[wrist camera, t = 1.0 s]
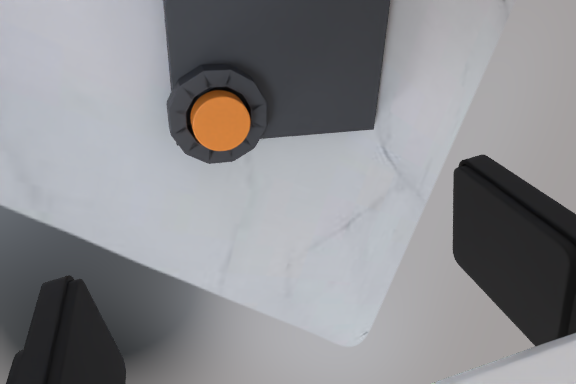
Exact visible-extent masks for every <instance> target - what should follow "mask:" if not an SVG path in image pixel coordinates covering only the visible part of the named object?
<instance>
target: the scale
mask: <svg viewBox="0 0 576 384" xmlns="http://www.w3.org/2000/svg"><path fill="white" fill-rule="evenodd" d="M163 3H164V14H165V26H166V37H167V48H168V59H169V71H170V82H171V95H170V97H169V99H168V101H167V111H168V121H169V129H170V133H171V136H172V137H173V138H174V140H175V141H176V143H177V145H179V146H180V147H181V149H182V150H183V151H184V153H185V154H187V155H189V156H192V157H194V158H196V159H199V160H201V161H204V162H206V163H209V164H210V163H221V162H232V161H235V160H236V159H238V158H239V157H241V156H243V155H244V154H246V153H247V152H249V151H250V150H252V149H253V148H255V146H256V144H257V143H258V141H259V139H262V138H274V137H287V136H299V135H311V134H323V133H335V132H347V131H359V130H372V129H374V123H375V115H376V107H377V99H378V92H379V84H380V76H381V68H382V61H383V53H384V45H385V37H386V29H387V22H388V14H389V6H390V0H163ZM214 90H225V91H229V92H231V93H233V94H235V95H236V96H238V97H239V98H240V99H241V101H242V102H243V104H244V105H245V107H246V109H247V110H248V112H249V115H250V121H251V123H250V130H249V133H248V135H247V137H246V138H245V140H244V141H243V142H242V143H241V144H240V145H238V146H237V147H235V148H233V149H230V150H227V151H214V150H211V149H208V148H206V147H204V146H203V145H202V144H201V143H200V142H199V141H198V140H197V138H196V137H195V135H194V132H193V129H192V125H191V120H190V115H191V110H192V107H193V105H194V103H195V102H196V101H197V99H199V98H200V97H201V96H202V95H204V94H205V93H207V92H210V91H214Z"/></svg>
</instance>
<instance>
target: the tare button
mask: <svg viewBox="0 0 576 384" xmlns="http://www.w3.org/2000/svg"><path fill="white" fill-rule="evenodd" d="M190 120H191V125H192V129H193V132H194V135H195V137H196V138H197V140H198V141H199V142H200V143H201V144H202V145H203V146H204V147H206V148H208V149H211V150H214V151H227V150H230V149H233V148H235V147H237V146H238V145H240V144H241V143H242V142H243V141H244V140H245V138H246V137H247V135H248V133H249V130H250V123H251V121H250V115H249V112H248V110H247V109H246V107H245V105H244V104H243V102H242V101H241V99H240V98H239V97H238V96H236V95H235V94H233V93H231V92H229V91H225V90H214V91H210V92H207V93H205V94H204V95H202V96H201V97H200V98H199V99H197V101H196V102H195V103H194V105H193V107H192V110H191V115H190Z"/></svg>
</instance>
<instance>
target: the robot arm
mask: <svg viewBox="0 0 576 384" xmlns="http://www.w3.org/2000/svg"><path fill="white" fill-rule="evenodd" d="M453 254H454V257H455V260H456V262H457V263H458V264H459V266H460V267H461V268H462V269H463V270H464V271H465V272H466V273H467V274H468V275H469V276H470V277H471V278H472V279H473V280H474V281H475V282H476V284H477V285H478V286H479V287H480V288H481V289H482V290H483V291H484V292H485V293H486V294H487V295H488V296H489V297H490V298H491V299H492V301H493V302H495V303H496V305H497V306H498V307H499V308H500V309H501V310H502V311H503V312H504V313H505V314H506V315H507V316H508V318H510V320H511V321H512V322H513V323H514V324H515V325H516V326H517V327H518V328H519V329H520V330H521V331H522V332H523V333H524V334H525V335H526V336H527V338H528V339H529V340H530V341H531V342H532V343H533V344H534V345H535V346H536V347H533V348H531V349H527V350H524V351H522V352H519V353H516V354H513V355H510V356H507V357H505V358H502V359H499V360H496V361H493V362H491V363H488V364H485V365H482V366H479V367H477V368H474V369H471V370H468V371H465V372H462V373H460V374H457V375H454V376H451V377H448V378H446V379H443V380H440V381H437V382H434V383H431V384H576V214H574V213H573V212H571V211H570V210H568V209H567V208H565V207H564V206H562V205H561V204H559V203H558V202H556V201H555V200H553V199H552V198H550V197H549V196H547V195H546V194H544V193H543V192H541V191H539V190H538V189H536V188H535V187H533V186H532V185H530V184H529V183H527V182H526V181H524V180H522V179H521V178H520V177H518V176H517V175H515V174H514V173H512V172H511V171H509V170H507V169H506V168H504V167H503V166H501V165H500V164H498V163H497V162H495V161H494V160H492V159H491V158H489V157H488V156H486V155H479V156H475V157H472V158H469V159H465V160H462V161H461V162H460V164H459V167H458V168H456V169H455V170H454V189H453ZM125 380H126V369H125V363H124V360H123V357H122V355H121V353H120V351H119V349H118V347H117V345H116V343H115V341H114V339H113V337H112V336H111V334H110V332H109V330H108V328H107V326H106V324H105V322H104V320H103V318H102V316H101V314H100V312H99V310H98V308H97V306H96V305H95V303H94V301H93V299H92V297H91V295H90V293H89V291H88V289H87V287H86V285H85V283H84V282H83V280H82V279H78V280H74V279H73V277H71V276H65V277H62V278H59V279H56V280H52V281H48V282H45V283H43V284H42V286H41V290H40V293H39V297H38V300H37V304H36V307H35V311H34V314H33V318H32V321H31V325H30V329H29V332H28V336H27V339H26V343H25V346H24V350H21V351H19V352H18V353H17V354H16V355H15V357H14V360H13V362H12V366H11V369H10V372H9V376H8V379H7V382H6V384H125Z"/></svg>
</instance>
